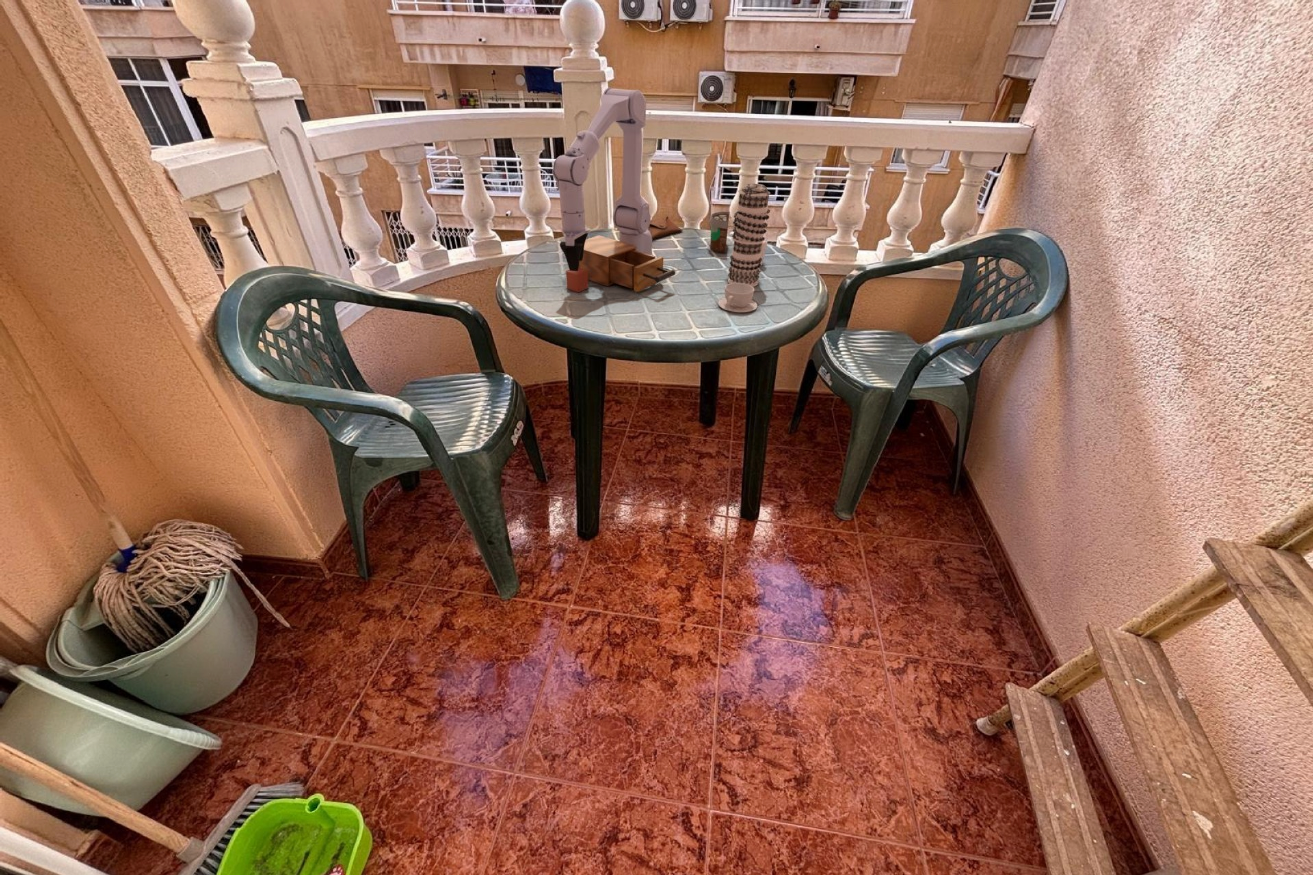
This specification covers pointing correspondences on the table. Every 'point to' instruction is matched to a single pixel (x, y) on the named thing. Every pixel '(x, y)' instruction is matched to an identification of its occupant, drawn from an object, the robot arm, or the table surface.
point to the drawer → (637, 270)
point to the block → (577, 280)
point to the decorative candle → (749, 234)
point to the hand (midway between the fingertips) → (576, 265)
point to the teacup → (738, 298)
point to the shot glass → (763, 250)
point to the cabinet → (601, 257)
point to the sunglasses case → (662, 228)
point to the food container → (719, 231)
